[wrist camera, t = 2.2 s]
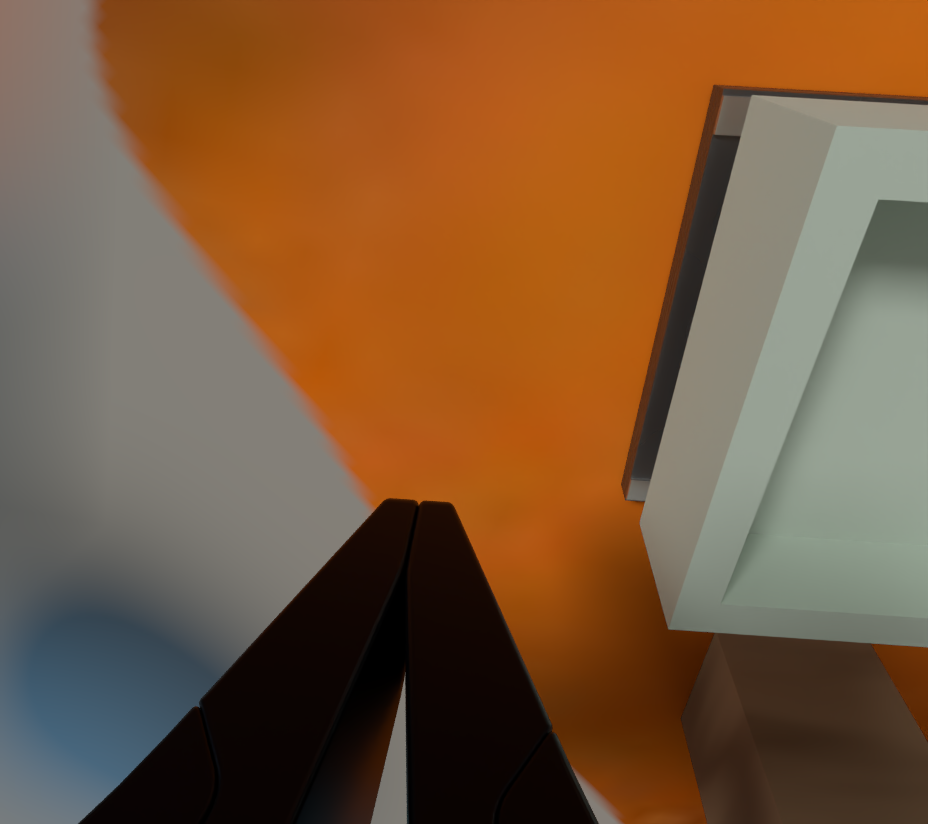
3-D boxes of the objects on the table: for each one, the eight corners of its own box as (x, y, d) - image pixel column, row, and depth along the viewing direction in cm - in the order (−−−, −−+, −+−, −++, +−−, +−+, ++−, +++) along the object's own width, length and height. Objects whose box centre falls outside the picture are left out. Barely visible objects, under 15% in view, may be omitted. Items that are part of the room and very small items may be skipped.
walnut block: (815, 727, 21) (914, 951, 16) (680, 717, 21) (736, 938, 16) (868, 639, 19) (1003, 872, 14) (715, 629, 19) (794, 857, 14)
